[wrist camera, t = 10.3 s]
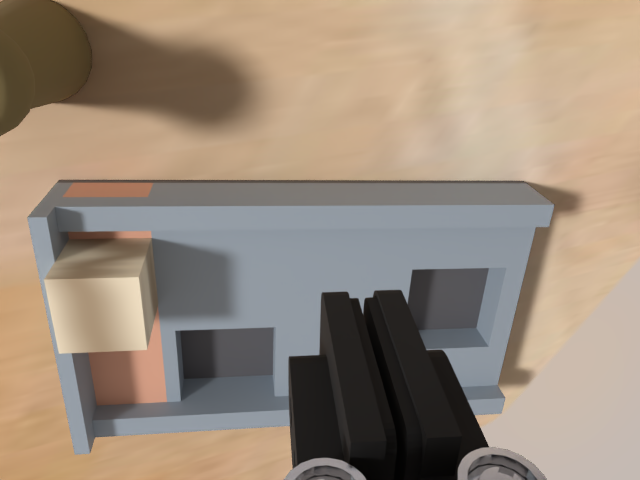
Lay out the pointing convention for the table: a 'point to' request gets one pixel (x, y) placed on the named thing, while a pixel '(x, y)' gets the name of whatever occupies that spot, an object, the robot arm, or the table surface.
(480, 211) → the box
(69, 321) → the maple block
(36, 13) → the cork
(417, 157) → the table surface
